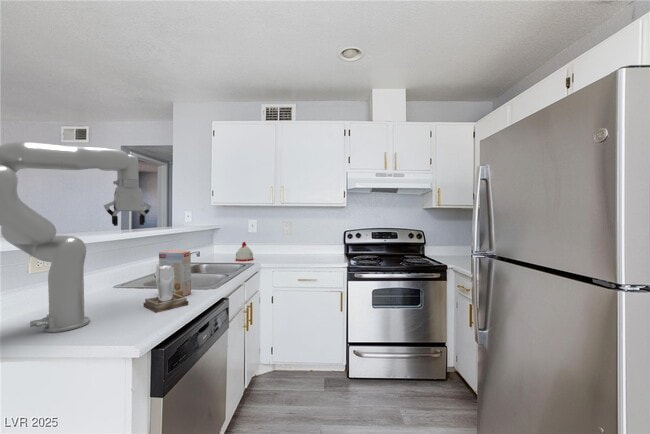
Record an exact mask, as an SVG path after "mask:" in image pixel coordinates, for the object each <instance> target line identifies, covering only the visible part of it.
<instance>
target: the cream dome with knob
mask: <svg viewBox="0 0 650 434" xmlns="http://www.w3.org/2000/svg"><path fill="white" fill-rule="evenodd" d="M251 261H254V254H253V251H252V250H251V248H249V246H247V243H246V241H243V242H242V244H241V247H240V248H239V249H238V250H237V251H236V252H235V262H251Z"/></svg>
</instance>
